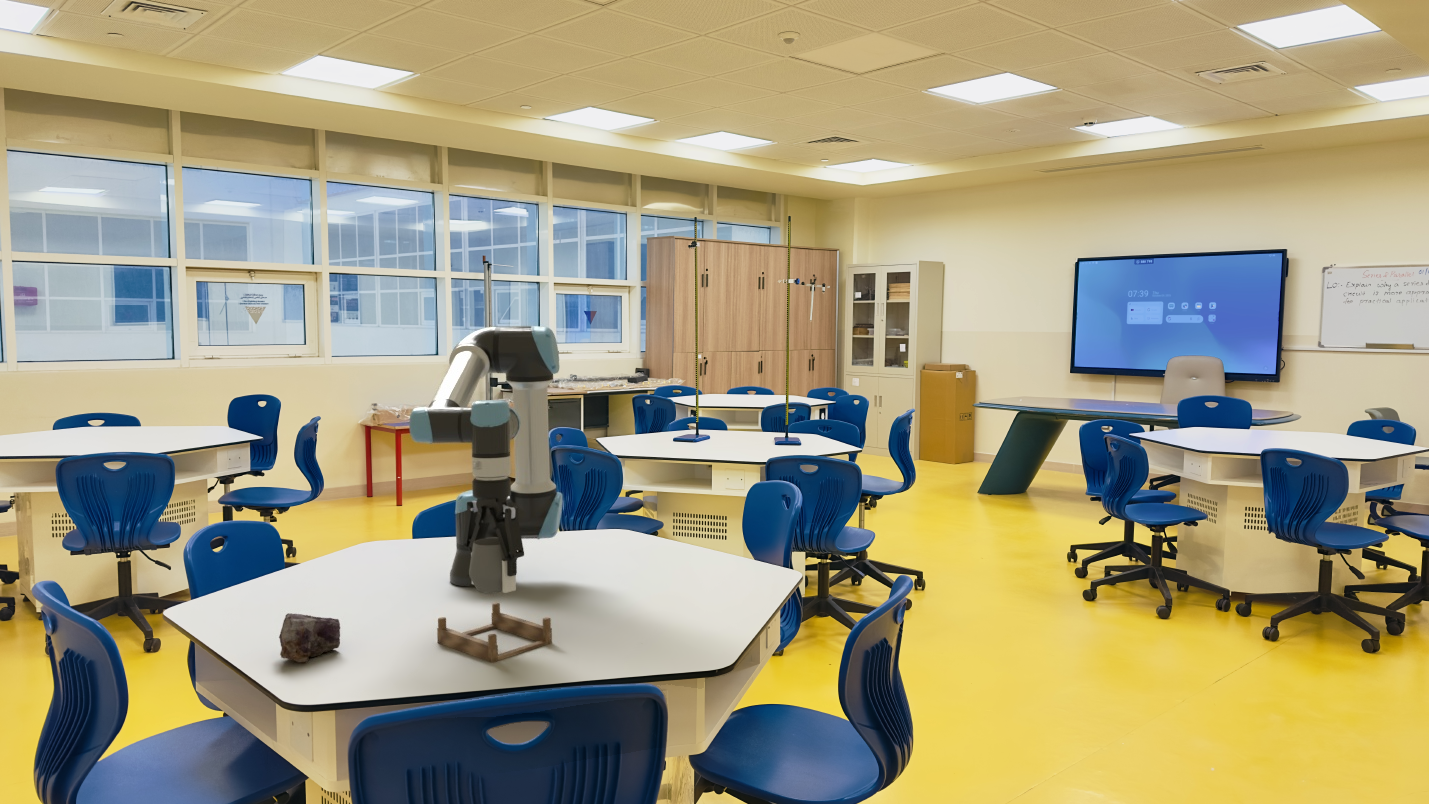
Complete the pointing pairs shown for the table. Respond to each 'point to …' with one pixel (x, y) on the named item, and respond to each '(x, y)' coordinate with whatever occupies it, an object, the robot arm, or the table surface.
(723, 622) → the table surface
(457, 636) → the frame
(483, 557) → the cup
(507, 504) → the robot arm
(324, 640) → the rock
